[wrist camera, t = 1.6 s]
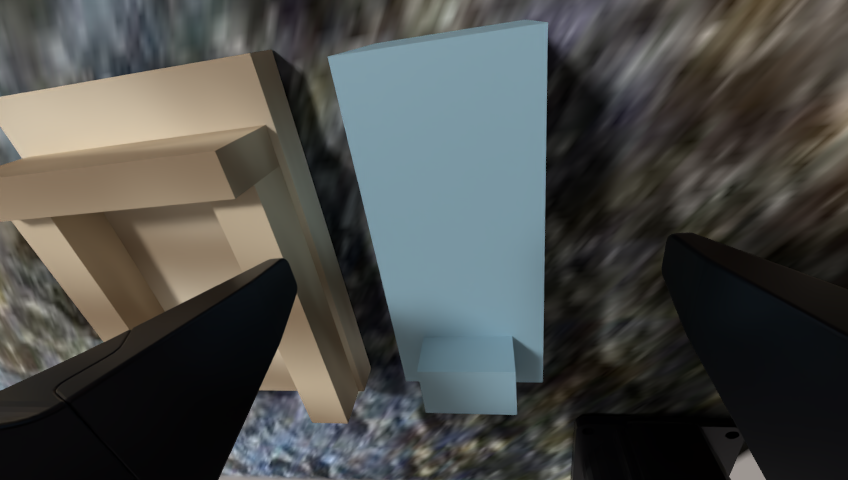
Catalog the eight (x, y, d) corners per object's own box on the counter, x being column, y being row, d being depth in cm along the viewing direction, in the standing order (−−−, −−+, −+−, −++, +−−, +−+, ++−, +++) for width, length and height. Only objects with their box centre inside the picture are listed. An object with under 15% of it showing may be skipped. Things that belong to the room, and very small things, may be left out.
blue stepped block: (528, 294, 14) (548, 421, 10) (423, 297, 15) (399, 416, 11) (525, 19, 10) (560, 24, 5) (377, 43, 11) (302, 63, 6)
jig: (371, 368, 17) (347, 445, 14) (197, 369, 19) (141, 438, 16) (271, 49, 11) (188, 63, 8) (23, 93, 13) (-126, 118, 9)
